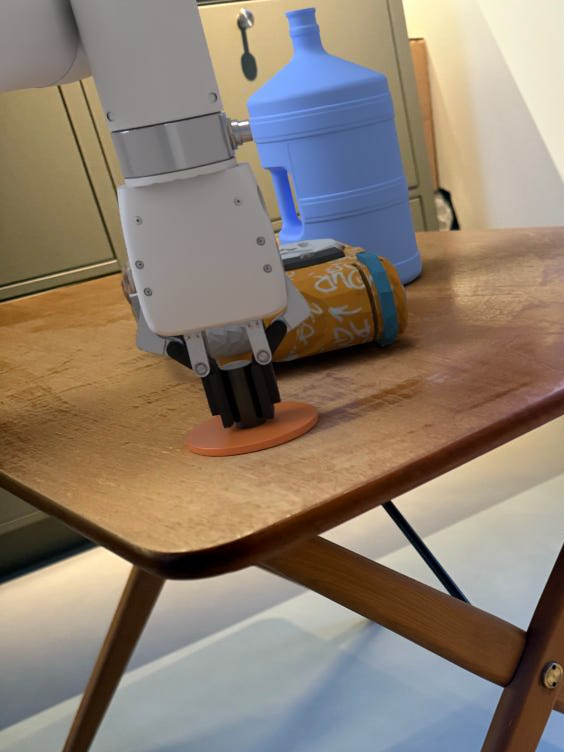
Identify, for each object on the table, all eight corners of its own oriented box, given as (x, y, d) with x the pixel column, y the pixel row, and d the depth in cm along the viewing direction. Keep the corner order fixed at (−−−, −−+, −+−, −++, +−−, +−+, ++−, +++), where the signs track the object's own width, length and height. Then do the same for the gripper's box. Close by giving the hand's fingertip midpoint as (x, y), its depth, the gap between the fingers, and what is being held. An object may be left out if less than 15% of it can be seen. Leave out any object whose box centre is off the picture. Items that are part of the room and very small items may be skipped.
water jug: (435, 263, 127) (390, -4, 113) (406, 294, 114) (350, -4, 100) (315, 279, 130) (257, 22, 116) (273, 310, 117) (201, 25, 103)
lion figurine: (191, 333, 114) (166, 247, 109) (143, 345, 112) (115, 259, 108) (170, 313, 126) (146, 235, 121) (126, 324, 124) (100, 245, 120)
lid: (182, 466, 74) (160, 397, 72) (193, 425, 83) (173, 361, 80) (320, 438, 75) (303, 368, 72) (316, 399, 83) (301, 336, 81)
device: (140, 312, 83) (118, 266, 108) (172, 412, 87) (144, 345, 112) (407, 250, 88) (327, 219, 113) (425, 347, 92) (344, 297, 117)
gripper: (295, 127, 73) (352, 384, 82) (65, 170, 72) (149, 425, 81) (296, 133, 66) (358, 411, 76) (43, 180, 65) (137, 456, 75)
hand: (249, 416), depth 78 cm, fingers closed on lid, 2 cm apart
